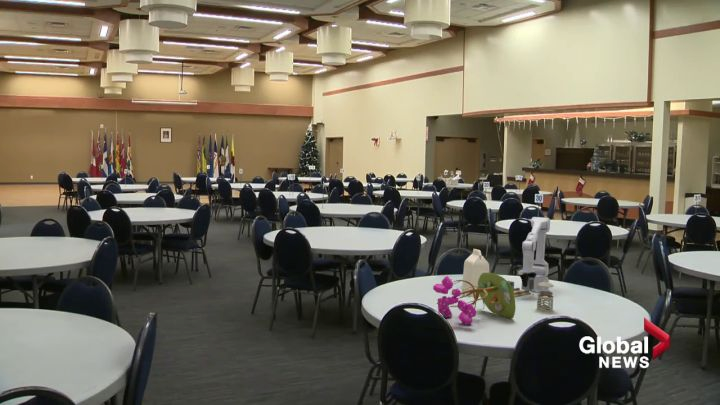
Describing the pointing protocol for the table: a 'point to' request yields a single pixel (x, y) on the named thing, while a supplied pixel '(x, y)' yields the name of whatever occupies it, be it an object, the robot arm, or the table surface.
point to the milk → (474, 270)
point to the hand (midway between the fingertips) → (527, 286)
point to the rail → (518, 290)
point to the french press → (544, 298)
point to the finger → (529, 284)
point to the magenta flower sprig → (491, 292)
